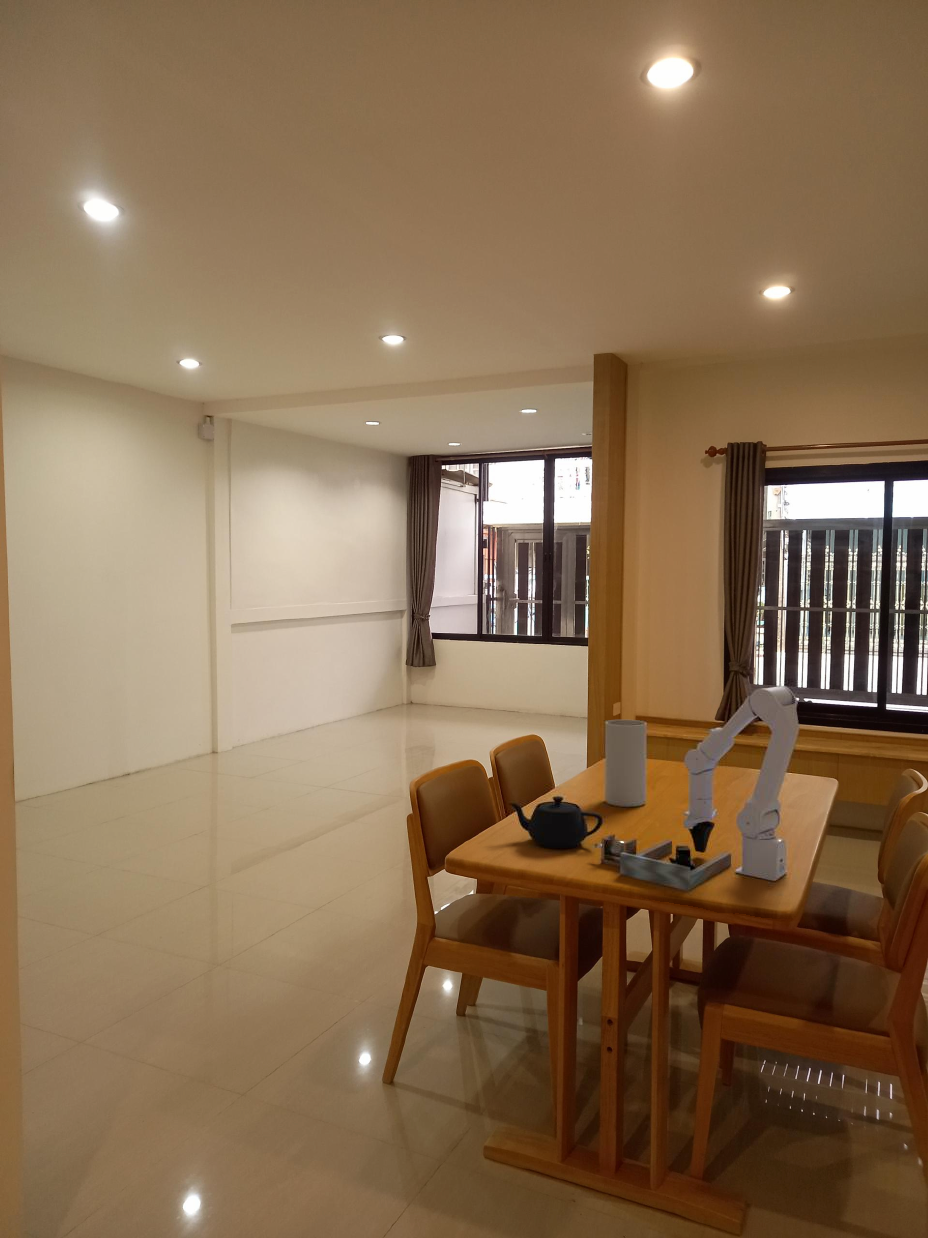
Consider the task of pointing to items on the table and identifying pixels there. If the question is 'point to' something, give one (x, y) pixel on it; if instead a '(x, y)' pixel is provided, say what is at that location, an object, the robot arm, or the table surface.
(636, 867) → the bay
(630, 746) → the cylinder vase
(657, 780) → the table surface
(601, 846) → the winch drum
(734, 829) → the table surface
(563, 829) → the teapot
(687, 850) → the black holder block
